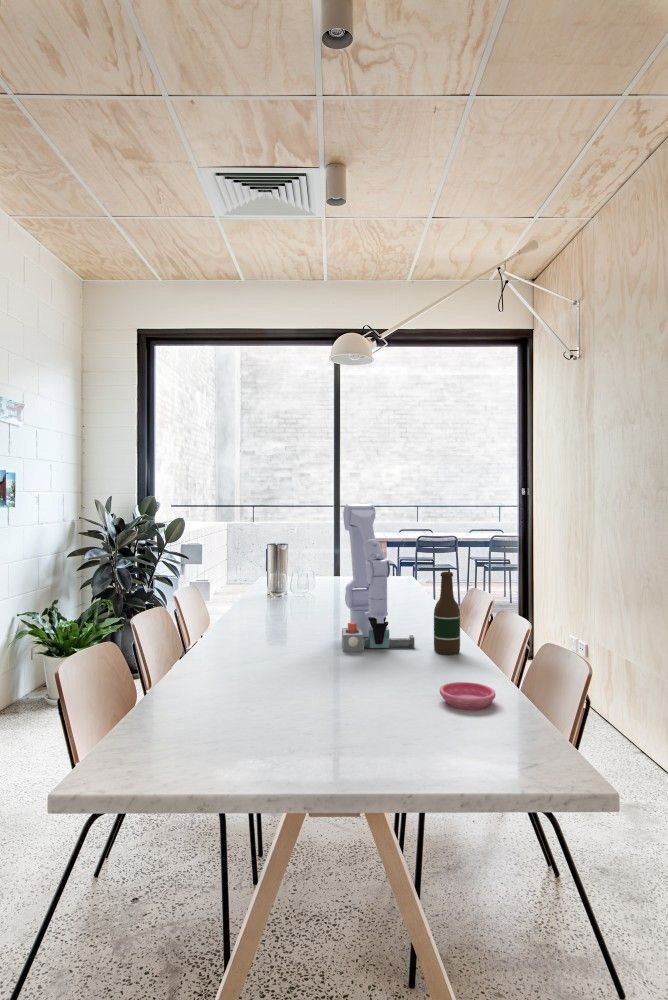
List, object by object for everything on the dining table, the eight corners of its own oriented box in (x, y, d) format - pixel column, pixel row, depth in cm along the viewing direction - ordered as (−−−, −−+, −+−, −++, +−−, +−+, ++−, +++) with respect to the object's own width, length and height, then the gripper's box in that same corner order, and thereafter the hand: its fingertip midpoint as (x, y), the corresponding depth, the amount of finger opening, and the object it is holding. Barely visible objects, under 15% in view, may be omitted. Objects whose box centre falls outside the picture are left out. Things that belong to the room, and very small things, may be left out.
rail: (364, 645, 200) (364, 635, 200) (412, 645, 200) (412, 635, 200) (365, 648, 196) (365, 638, 196) (414, 648, 196) (414, 637, 196)
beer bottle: (448, 656, 186) (448, 574, 186) (428, 651, 192) (428, 572, 192) (465, 652, 191) (465, 572, 191) (445, 647, 197) (445, 569, 197)
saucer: (498, 697, 149) (498, 684, 149) (492, 715, 137) (492, 700, 137) (444, 692, 153) (444, 679, 153) (435, 708, 141) (434, 694, 141)
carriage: (368, 644, 200) (368, 627, 200) (387, 644, 200) (387, 627, 200) (369, 648, 195) (369, 630, 195) (389, 647, 196) (389, 630, 196)
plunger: (347, 635, 199) (347, 622, 199) (356, 635, 199) (356, 622, 199) (348, 637, 196) (347, 624, 196) (357, 637, 196) (357, 624, 196)
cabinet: (341, 643, 202) (341, 628, 202) (360, 643, 203) (360, 627, 203) (343, 651, 192) (343, 635, 192) (363, 651, 192) (363, 635, 192)
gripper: (363, 594, 205) (363, 636, 205) (367, 602, 190) (367, 647, 190) (385, 594, 205) (385, 636, 205) (390, 602, 190) (390, 647, 191)
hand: (378, 642), depth 198 cm, fingers closed on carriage, 4 cm apart
